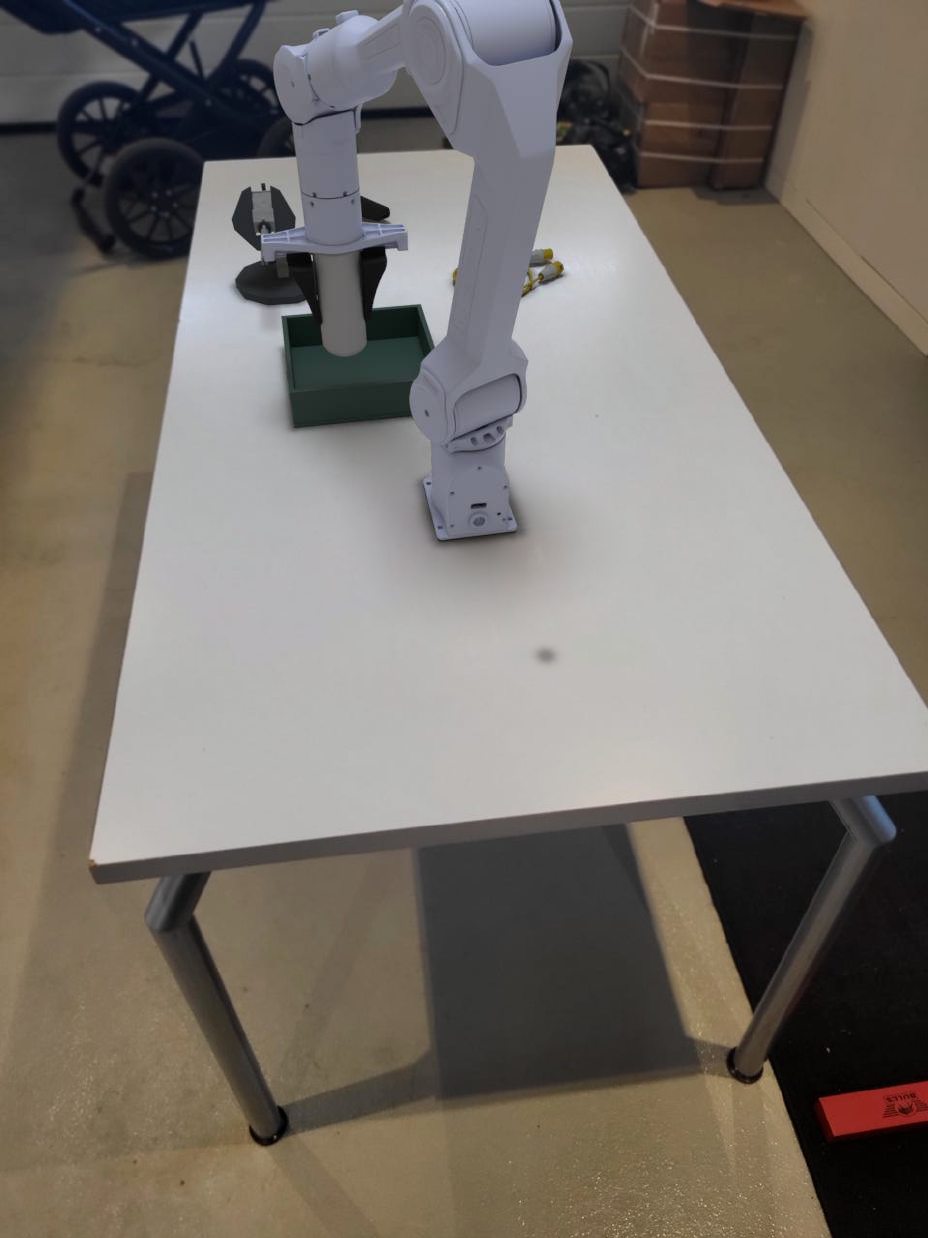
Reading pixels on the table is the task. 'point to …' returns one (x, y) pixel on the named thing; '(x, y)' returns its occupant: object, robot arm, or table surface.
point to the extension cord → (546, 273)
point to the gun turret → (262, 277)
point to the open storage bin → (355, 368)
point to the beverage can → (340, 302)
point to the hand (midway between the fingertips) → (342, 318)
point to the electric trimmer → (373, 210)
